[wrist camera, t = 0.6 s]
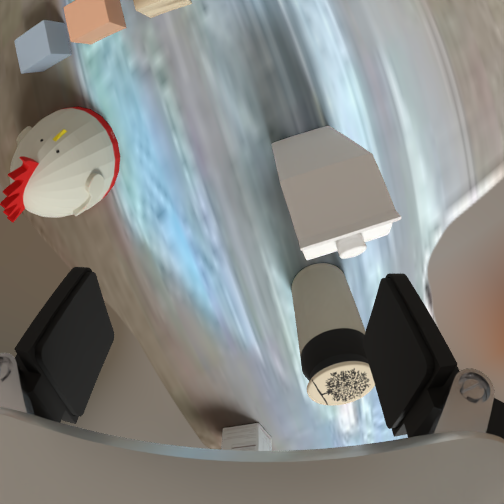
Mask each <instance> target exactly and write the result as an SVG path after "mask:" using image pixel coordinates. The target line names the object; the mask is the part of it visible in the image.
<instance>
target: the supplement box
mask: <svg viewBox="0 0 504 504" xmlns="http://www.w3.org/2000/svg"><path fill="white" fill-rule="evenodd" d="M221 450H237V451H272V445H271V437H270V435H269V434H268V433H267V432H266V431H265V430H264V429H263V427H262V426H261V425H260V424H259V423H254V424H248V425H241V426H234V427H227V428H223V432H222V446H221Z"/></svg>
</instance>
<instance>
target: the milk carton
mask: <svg viewBox="0 0 504 504" xmlns="http://www.w3.org/2000/svg"><path fill="white" fill-rule="evenodd" d="M271 145H272V150H273V154H274V158H275V163H276V167H277V172H278V176H279V181H280V185H281V188H282V191H283V194H284V197H285V200H286V203H287V206H288V209H289V213H290V216H291V219H292V222H293V225H294V229H295V232H296V235H297V238H298V242H299V246H300V250H301V251H303V253H304V256H305V258H306V260H310V259H314V258H317V257H320V256H323V255H326V254H330V253H333V252H336V251H338V253H339V256H340V258H342V259H346V258H351V257H354V256H357V255H359V254H361V253H363V252H364V251H365V250H366V244H365V242H367V241H370V240H373V239H376V238H380V237H383V236H385V235H388V234H389V232H390V229H391V226H392V223H393V222H395V221H398V220H401V216H400V215H399V214H398V213H397V211H396V210H395V207H394V205H393V202H392V200H391V197H390V195H389V192H388V190H387V187H386V185H385V182H384V180H383V177H382V175H381V173H380V170H379V168H378V166H377V163H376V161H375V159H374V157H373V154H372V153H370V152H369V151H367V150H366V149H364V148H363V147H361V146H360V145H358V144H357V143H355V142H354V141H352V140H351V139H349V138H348V137H346V136H345V135H343V134H341V133H340V132H338V131H337V130H335V129H334V128H332V127H330V126H324V127H321V128H317V129H314V130H311V131H307V132H304V133H301V134H298V135H295V136H292V137H288V138H285V139H282V140H279V141H276V142H274V143H272V144H271Z"/></svg>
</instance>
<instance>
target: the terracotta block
mask: <svg viewBox="0 0 504 504" xmlns="http://www.w3.org/2000/svg"><path fill="white" fill-rule="evenodd" d="M64 12H65V17H66V22H67V27H68V31H69V36H70V40H71V42H76V43H84V44H93V43H95V42H97V41H99V40H101V39H103V38H105V37H107V36H109V35H111V34H113V33H116V32H118V31H120V30H122V29H125V28H126V24H125V20H124V16H123V12H122V8H121V4H120V0H75V1H73V2H72V3H70V4H68V5H67V6H65V7H64Z"/></svg>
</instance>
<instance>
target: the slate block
mask: <svg viewBox="0 0 504 504" xmlns="http://www.w3.org/2000/svg"><path fill="white" fill-rule="evenodd" d="M15 46H16V51H17V56H18V61H19V66H20V70H21V74H22V73H31V72H42V71H45V70H46V69H48V68H50V67H51V66H53V65H55V64H56V63H58V62H60V61H61V60H63V59H65V58H66V57H68V56H70V55H72V53H71V48H70V44H69V40H68V35H67V31H66V26H65V23H61V22H55V21H49V20H43V21H41V22H40V23H38V24H37V25H35V26H34V27H32V28H31V29H30V30H28V31H27V32H25V33H24V34H23V35H21V36H20V37H19V38H17V39H16V40H15Z"/></svg>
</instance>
